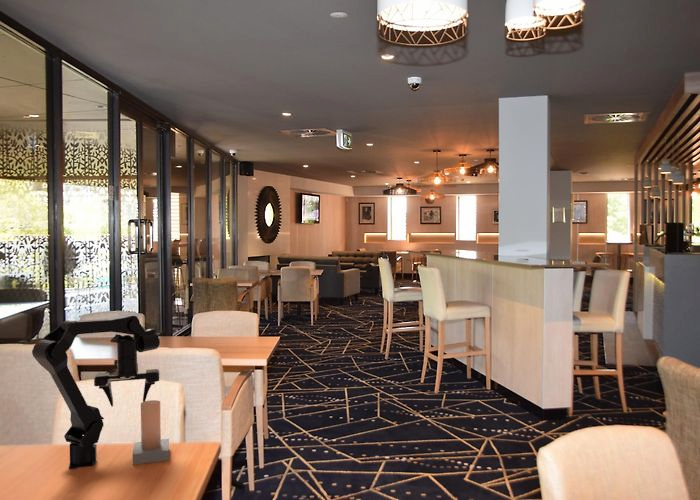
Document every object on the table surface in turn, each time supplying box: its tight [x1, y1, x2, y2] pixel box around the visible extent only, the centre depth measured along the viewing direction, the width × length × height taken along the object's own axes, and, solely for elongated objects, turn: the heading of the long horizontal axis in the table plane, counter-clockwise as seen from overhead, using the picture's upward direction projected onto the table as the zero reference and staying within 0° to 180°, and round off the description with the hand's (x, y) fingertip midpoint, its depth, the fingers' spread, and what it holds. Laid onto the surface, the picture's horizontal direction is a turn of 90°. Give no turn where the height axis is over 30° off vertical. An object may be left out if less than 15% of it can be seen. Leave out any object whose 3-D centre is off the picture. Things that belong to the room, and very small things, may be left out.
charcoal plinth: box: [132, 438, 170, 465], centre depth 175 cm, size 10×10×3 cm
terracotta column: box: [140, 399, 162, 450], centre depth 174 cm, size 6×6×13 cm
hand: (128, 404), depth 183 cm, fingers open, 9 cm apart
